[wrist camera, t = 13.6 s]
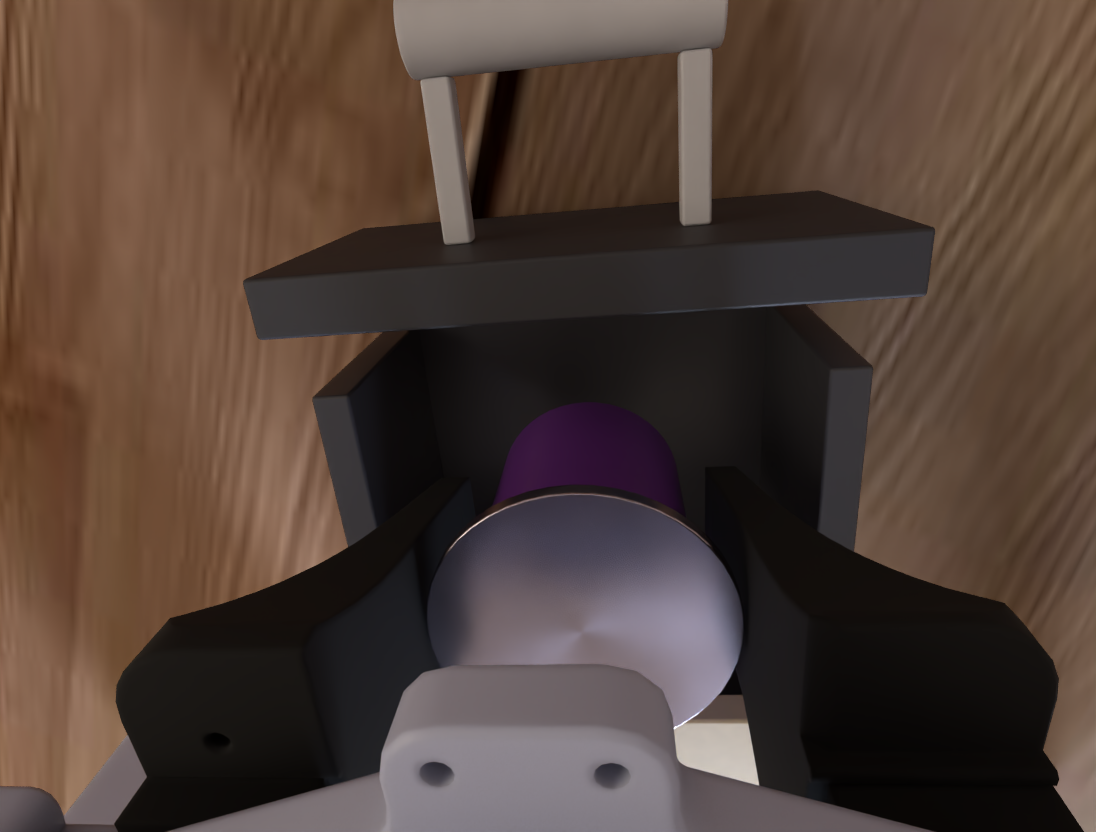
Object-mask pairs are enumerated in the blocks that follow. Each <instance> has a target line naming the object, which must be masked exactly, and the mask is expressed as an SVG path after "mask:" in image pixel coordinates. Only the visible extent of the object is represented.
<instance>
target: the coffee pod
mask: <svg viewBox="0 0 1096 832" xmlns="http://www.w3.org/2000/svg"><path fill="white" fill-rule="evenodd" d="M426 623H427V631H428V636H429V639H430V643H431V647H432V650H433V652H434V654H435V657H436V659H437V661H438V663H439V665H440V667H441V668H445V667H449V666H453V665H542V664H604V665H609V666H615V667H620V668H625V669H630V670H635V671H638V672H639V673H640V674H642V675H643V676H644V677H646V678H647V679H649V680H650V681H651V682H653V683H654V684H655V685H657V686H658V687H660V688H661V689H662V690H663V692H664V695H665V697H666V700H667V702H668V705H669V708H670V710H671V713H672V716H673V725H674V728H676V727H678V726H680V725H682V724H684V723H685V722H687V721H688V720H690V719H691V718H693V717H695V716H696V715H697V714H699V713H700V712H701V711H702V710H703V709H705V708H706V707H707V706H708V705H709V704H710V703H711V702H712V701H713V700H714V699H715V698H716V697H717V696H718V695H719V694H720V692H721V691H722V690H723V688H724V687H725V686H726V684H727V683H728V681H729V680H730V678H731V676H732V674H733V672H734V670H735V668H736V666H737V664H738V662H739V658H740V655H741V651H742V648H743V643H744V635H745V615H744V608H743V603H742V599H741V594H740V591H739V587H738V584H737V582H736V579H735V577H734V574H733V572H732V569H731V567H730V566H729V564H728V562H727V561H726V559H725V557H724V556H723V554H722V552H721V551H720V550H719V549H718V547H717V546H716V545H715V544H714V543H713V541H712V540H711V539H710V538H709V537H708V536H707V535H706V534H705V533H704V532H703V531H702V530H701V529H700V528H698V527H697V526H696V525H695V524H694V523H693V522H691V521H690V520H688V519H687V518H686V513H685V508H684V503H683V498H682V493H681V487H680V482H679V477H678V472H677V467H676V463H675V459H674V457H673V454H672V452H671V449H670V448H669V446H668V444H667V443H666V441H665V439H664V438H663V437H662V436H661V434H660V433H659V432H658V431H657V430H656V429H655V428H654V427H653V426H652V425H651V424H650V423H648V422H647V421H646V420H644V419H643V418H642V417H640V416H638V415H636V414H635V413H633V412H631V411H629V410H626V409H623V408H621V407H618V406H614V405H610V404H604V403H597V402H582V403H574V404H569V405H565V406H561V407H558V408H555V409H553V410H550V411H548V412H546V413H544V414H542V415H541V416H539V417H538V418H536V419H535V420H533V421H532V422H531V423H530V424H529V425H527V426H526V427H525V428H524V429H523V430H522V432H521V433H520V434H519V435H518V437H517V438H516V440H515V441H514V443H513V445H512V446H511V449H510V451H509V453H508V456H507V459H506V462H505V466H504V469H503V472H502V476H501V479H500V482H499V486H498V489H497V492H496V495H495V499H494V502H493V505H492V507H490V508H488V509H487V510H485V511H484V512H482V513H481V514H479V515H478V516H476V517H475V518H473V519H472V520H471V521H470V522H469V523H468V524H467V525H466V526H465V527H463V528H462V529H461V530H460V531H459V532H458V534H457V535H456V536H455V537H454V538H453V540H452V541H451V542H450V543H449V544H448V546H447V548H446V549H445V551H444V553H443V554H442V556H441V558H440V560H439V562H438V564H437V567H436V570H435V572H434V575H433V577H432V580H431V583H430V586H429V591H428V595H427V600H426Z"/></svg>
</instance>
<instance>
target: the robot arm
mask: <svg viewBox="0 0 1096 832" xmlns="http://www.w3.org/2000/svg"><path fill="white" fill-rule="evenodd" d="M475 517H476V515H475V508H474V502H473V495H472V489H471V482H470V477H451V478H441V479H440V480H438V481H437V482H435V483H434V484H433V485H431V486H430V487H429V488H428V489H426V490H425V491H424V492H423V493H421V494H420V495H419V496H418V497H416V498H415V499H414V500H413V501H411V502H410V503H409V504H408V505H406V506H405V507H404V508H403V509H401V510H400V511H399V512H397V513H396V514H395V515H394V516H392V517H391V518H390V519H388V520H387V521H386V522H384V523H383V524H381V525H380V526H379V527H377V528H376V529H374V530H373V531H372V532H370V533H369V534H367V535H366V536H365V537H363V538H362V539H360V540H359V541H357V542H356V543H354V544H353V545H351V546H349V547H348V548H346V549H345V550H343V551H341V552H339V553H338V554H336V555H334V556H332V557H331V558H329V559H327V560H325V561H324V562H322V563H320V564H318V565H316V566H314V567H312V568H310V569H308V570H305V571H303V572H301V573H299V574H297V575H295V576H293V577H291V578H288V579H286V580H284V581H282V582H280V583H278V584H275V585H273V586H270V587H268V588H265V589H263V590H260V591H257V592H255V593H252V594H249V595H246V596H244V597H241V598H238V599H235V600H232V601H229V602H226V603H223V604H220V605H216V606H213V607H209V608H205V609H202V610H198V611H195V612H191V613H188V614H184V615H181V616H177V617H173V618H170V619H169V620H168V621H167V622H166V623H165V625H164V626H163V627H162V628H161V629H160V630H159V631H158V632H157V634H156V635H155V636H154V637H153V638H152V639H151V640H150V642H149V643H148V644H147V645H146V646H145V647H144V648H143V650H142V651H141V652H140V653H139V654H138V655H137V656H136V657H135V659H134V660H133V661H132V662H131V663H130V664H129V665H128V667H127V668H126V669H125V670H124V671H123V673H122V675H121V677H120V679H119V681H118V684H117V688H116V704H117V708H118V711H119V714H120V718H121V721H122V723H123V726H124V728H125V730H126V732H127V734H128V735H127V736H126V737H125V739H124V740H123V741H122V742H121V744H120V745H119V746H118V747H117V749H116V750H115V751H114V753H113V754H112V755H111V756H110V758H109V759H108V760H107V761H106V763H105V764H104V765H103V767H102V768H101V769H100V770H99V772H98V773H97V774H96V775H95V777H94V778H93V779H92V781H91V782H90V783H89V784H88V786H87V787H86V788H85V790H84V791H83V792H82V793H81V795H80V796H79V797H78V798H77V800H76V801H75V802H74V804H73V805H72V806H71V807H70V809H69V810H68V811H67V812H66V814H65V815H64V816H63V813H62V810H61V808H60V806H59V804H58V802H57V801H56V800H55V798H54V797H53V796H52V795H51V794H49V793H48V792H46V791H44V790H42V789H39V788H34V787H15V786H0V832H1084V831H1083V830H1082V828H1081V827H1080V825H1079V824H1078V822H1077V821H1076V819H1075V818H1074V816H1073V815H1072V813H1071V812H1070V810H1069V809H1068V807H1067V806H1066V804H1065V803H1064V801H1063V800H1062V798H1061V797H1060V795H1059V794H1058V792H1057V791H1056V790H1055V788H1054V787H1053V786H1057V784H1058V781H1059V776H1058V772H1057V770H1056V769H1055V767H1054V766H1053V764H1052V763H1051V761H1050V760H1049V758H1048V757H1047V756H1046V754H1045V753H1044V751H1043V748H1044V744H1045V741H1046V737H1047V733H1048V730H1049V726H1050V722H1051V719H1052V715H1053V711H1054V708H1055V704H1056V701H1057V694H1058V682H1059V678H1058V675H1057V672H1056V669H1055V665H1054V662H1053V660H1052V659H1051V658H1050V656H1049V655H1048V654H1047V653H1046V651H1045V650H1044V649H1043V648H1042V646H1041V645H1040V644H1039V643H1038V641H1037V640H1036V639H1035V637H1034V636H1033V635H1032V634H1031V632H1030V631H1029V630H1028V628H1027V627H1026V626H1025V625H1024V624H1023V623H1022V621H1021V620H1020V619H1019V618H1018V617H1017V616H1016V615H1015V614H1014V613H1013V612H1012V610H1011V609H1010V608H1009V607H1008V606H1007V605H1006V604H1005V603H1003V602H999V601H995V600H991V599H987V598H983V597H979V596H975V595H971V594H967V593H963V592H959V591H955V590H951V589H948V588H944V587H941V586H938V585H935V584H932V583H929V582H926V581H923V580H920V579H917V578H914V577H911V576H909V575H906V574H904V573H901V572H898V571H896V570H893V569H891V568H888V567H886V566H884V565H882V564H879V563H877V562H875V561H872V560H870V559H868V558H866V557H864V556H862V555H860V554H857V553H855V552H853V551H851V550H850V549H848V548H846V547H844V546H842V545H841V544H839V543H837V542H835V541H833V540H832V539H830V538H828V537H826V536H825V535H823V534H821V533H820V532H818V531H817V530H815V529H813V528H812V527H811V526H809V525H808V524H806V523H805V522H803V521H802V520H800V519H799V518H797V517H796V516H795V515H793V514H792V513H791V512H789V511H788V510H787V509H785V508H784V507H783V506H781V505H780V504H779V503H778V502H776V501H775V500H774V499H773V498H771V497H770V496H769V495H768V494H767V493H765V492H764V491H763V490H762V489H761V488H760V487H759V486H757V485H756V484H755V483H754V482H753V481H752V480H751V479H749V478H748V477H747V476H746V475H745V474H744V473H743V472H742V471H740V470H739V469H738V468H737V467H736V466H722V467H705V534H706V535H707V536H708V537H709V538H710V539H711V540H712V541H713V543H714V544H715V545H716V546H717V547H718V549H719V550H720V551H721V552H722V554H723V556H724V557H725V559H726V561H727V562H728V564H729V566H730V567H731V569H732V572H733V574H734V577H735V579H736V582H737V584H738V587H739V591H740V594H741V599H742V603H743V608H744V615H745V635H744V643H743V648H742V651H741V655H740V658H739V662H738V664H737V666H736V668H735V669H736V672H737V675H738V679H739V683H740V687H741V691H742V695H743V699H744V705H745V710H746V715H747V720H748V726H749V731H750V736H751V742H752V747H753V753H754V759H755V764H756V770H757V775H758V781H759V785H755V784H751V783H748V782H744V781H740V780H736V779H732V778H729V777H725V776H721V775H717V774H713V773H710V772H706V771H702V770H698V769H694V768H691V767H687V766H685V765H683V764H682V763H680V762H679V760H678V758H677V753H676V743H675V734H674V725H673V716H672V713H671V710H670V708H669V705H668V702H667V700H666V697H665V695H664V692H663V690H662V689H661V688H660V687H658V686H657V685H655V684H654V683H653V682H651V681H650V680H649V679H647V678H646V677H644V676H643V675H642V674H640V673H639V672H638V671H635V670H630V669H625V668H620V667H615V666H609V665H604V664H542V665H453V666H449V667H445V668H441V667H440V665H439V663H438V661H437V659H436V657H435V654H434V652H433V650H432V647H431V643H430V639H429V636H428V631H427V623H426V600H427V595H428V591H429V586H430V583H431V580H432V577H433V575H434V572H435V570H436V567H437V564H438V562H439V560H440V558H441V556H442V554H443V553H444V551H445V549H446V548H447V546H448V544H449V543H450V542H451V541H452V540H453V538H454V537H455V536H456V535H457V534H458V532H459V531H460V530H461V529H462V528H463V527H465V526H466V525H467V524H468V523H469V522H470V521H471V520H472V519H473V518H475Z"/></svg>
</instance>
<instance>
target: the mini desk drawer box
mask: <svg viewBox="0 0 1096 832" xmlns="http://www.w3.org/2000/svg"><path fill="white" fill-rule="evenodd" d="M674 734H675V743H676V753H677V758H678V760H679V762H680V763H682V764H683V765H685V766H687V767H691V768H694V769H698V770H702V771H706V772H710V773H713V774H717V775H721V776H725V777H729V778H732V779H736V780H740V781H744V782H748V783H751V784H755V785H759V781H758V775H757V770H756V764H755V759H754V753H753V747H752V742H751V736H750V731H749V726H748V720H747V715H746V710H745V705H744V699H743V695H718V696H717V697H716V698H715V699H714V700H713V701H712V702H711V703H710V704H709V705H708V706H707V707H706V708H705V709H703V710H702V711H701V712H700V713H699V714H697V715H696V716H695V717H693V718H691V719H690V720H688V721H687V722H685V723H684V724H682V725H680V726H678V727H676V728H674Z"/></svg>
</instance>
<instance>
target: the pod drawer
mask: <svg viewBox="0 0 1096 832" xmlns="http://www.w3.org/2000/svg"><path fill="white" fill-rule="evenodd" d="M393 14H394V25H395V32H396V37H397V42H398V46H399V50H400V54H401V57H402V60H403V63H404V65H405V68H406V70H407V72H408V74H409V75H410V77H411V78H412V79H414V80H421V90H422V97H423V104H424V111H425V117H426V124H427V131H428V138H429V145H430V152H431V158H432V165H433V172H434V179H435V186H436V192H437V199H438V206H439V213H440V220H441V222H435V223H423V224H411V225H399V226H387V227H375V228H363V229H361V230H358V231H356V232H354V233H351V234H349V235H347V236H344V237H342V238H340V239H338V240H335V241H333V242H331V243H328V244H326V245H324V246H321V247H319V248H317V249H314V250H312V251H310V252H307V253H305V254H303V255H300V256H298V257H296V258H294V259H291V260H289V261H287V262H284V263H282V264H280V265H277V266H275V267H273V268H270V269H268V270H266V271H263V272H261V273H259V274H256V275H254V276H252V277H250V278H247V279H245V280H244V281H243V285H244V289H245V292H246V296H247V300H248V304H249V307H250V311H251V315H252V319H253V322H254V326H255V330H256V334H257V337H258V339H261V340H268V339H284V338H299V337H314V336H329V335H344V334H360V333H375V332H382V333H381V334H380V335H379V336H378V337H377V338H376V339H375V340H374V341H373V342H372V343H371V344H370V345H368V346H367V347H366V348H365V349H364V350H363V351H362V352H361V353H360V354H359V355H358V356H357V357H356V358H354V359H353V360H352V361H351V362H350V363H349V364H348V365H347V366H346V367H345V368H344V369H343V370H342V371H340V372H339V373H338V374H337V375H336V376H335V377H334V378H333V379H332V380H331V381H330V382H329V383H328V384H327V385H325V386H324V387H323V388H322V389H321V390H320V391H319V392H318V393H317V394H316V395H315V396H314V397H313V405H314V409H315V413H316V417H317V421H318V425H319V429H320V433H321V437H322V441H323V446H324V450H325V454H326V458H327V462H328V466H329V470H330V474H331V478H332V483H333V487H334V491H335V495H336V499H337V503H338V507H339V511H340V515H341V520H342V524H343V528H344V532H345V536H346V540H347V544H348V547H349V546H351V545H353V544H354V543H356V542H357V541H359V540H360V539H362V538H363V537H365V536H366V535H367V534H369V533H370V532H372V531H373V530H374V529H376V528H377V527H379V526H380V525H381V524H383V523H384V522H386V521H387V520H388V519H390V518H391V517H392V516H394V515H395V514H396V513H397V512H399V511H400V510H401V509H403V508H404V507H405V506H406V505H408V504H409V503H410V502H411V501H413V500H414V499H415V498H416V497H418V496H419V495H420V494H421V493H423V492H424V491H425V490H426V489H428V488H429V487H430V486H431V485H433V484H434V483H435V482H437V481H438V480H440V479H441V478H451V477H470V482H471V489H472V495H473V502H474V508H475V515H476V516H478V515H479V514H481V513H482V512H484V511H485V510H487V509H488V508H490V507H492V505H493V502H494V499H495V495H496V492H497V489H498V486H499V482H500V479H501V476H502V472H503V469H504V466H505V462H506V459H507V456H508V453H509V451H510V449H511V446H512V445H513V443H514V441H515V440H516V438H517V437H518V435H519V434H520V433H521V432H522V430H523V429H524V428H525V427H526V426H527V425H529V424H530V423H531V422H532V421H533V420H535V419H536V418H538V417H539V416H541V415H542V414H544V413H546V412H548V411H550V410H553V409H555V408H558V407H561V406H565V405H569V404H574V403H582V402H597V403H604V404H610V405H614V406H618V407H621V408H623V409H626V410H629V411H631V412H633V413H635V414H636V415H638V416H640V417H642V418H643V419H644V420H646V421H647V422H648V423H650V424H651V425H652V426H653V427H654V428H655V429H656V430H657V431H658V432H659V433H660V434H661V436H662V437H663V438H664V439H665V441H666V443H667V444H668V446H669V448H670V449H671V452H672V454H673V457H674V459H675V463H676V467H677V472H678V477H679V482H680V487H681V493H682V498H683V503H684V508H685V513H686V518H687V519H688V520H690V521H691V522H693V523H694V524H695V525H696V526H697V527H698V528H700V529H701V530H702V531H703V532H704V533H705V467H722V466H736V467H737V468H738V469H739V470H740V471H742V472H743V473H744V474H745V475H746V476H747V477H748V478H749V479H751V480H752V481H753V482H754V483H755V484H756V485H757V486H759V487H760V488H761V489H762V490H763V491H764V492H765V493H767V494H768V495H769V496H770V497H771V498H773V499H774V500H775V501H776V502H778V503H779V504H780V505H781V506H783V507H784V508H785V509H787V510H788V511H789V512H791V513H792V514H793V515H795V516H796V517H797V518H799V519H800V520H802V521H803V522H805V523H806V524H808V525H809V526H811V527H812V528H813V529H815V530H817V531H818V532H820V533H821V534H823V535H825V536H826V537H828V538H830V539H832V540H833V541H835V542H837V543H839V544H841V545H842V546H844V547H846V548H848V549H850V550H851V551H853V552H854V546H855V536H856V527H857V517H858V508H859V498H860V489H861V479H862V470H863V460H864V451H865V441H866V432H867V422H868V413H869V403H870V393H871V384H872V374H873V367H872V365H870V364H869V363H868V362H867V361H866V360H865V359H864V358H863V357H862V356H861V355H860V354H858V353H857V352H856V351H855V350H854V349H853V348H852V347H851V346H850V345H849V344H848V343H847V342H845V341H844V340H843V339H842V338H841V337H840V336H839V335H838V334H837V333H836V332H835V331H833V330H832V329H831V328H830V327H829V326H828V325H827V324H826V323H825V322H824V321H823V320H821V319H820V318H819V317H818V316H817V315H816V314H815V313H814V312H813V311H812V310H811V309H810V308H808V307H807V306H806V305H805V304H816V303H831V302H846V301H861V300H876V299H892V298H907V297H922V296H924V295H926V293H927V288H928V281H929V273H930V266H931V258H932V250H933V243H934V235H935V229H934V228H933V227H931V226H927V225H924V224H921V223H918V222H915V221H912V220H909V219H906V218H902V217H899V216H896V215H893V214H890V213H887V212H884V211H881V210H877V209H874V208H871V207H868V206H865V205H862V204H859V203H856V202H853V201H849V200H846V199H843V198H840V197H837V196H834V195H831V194H828V193H824V192H821V191H806V192H794V193H782V194H771V195H759V196H747V197H735V198H723V199H712V50H711V49H714V48H718V47H720V46H721V45H722V43H723V40H724V36H725V31H726V24H727V14H728V0H394V2H393ZM676 52H681V53H680V54H679V55H678V133H679V202H675V203H663V204H651V205H639V206H627V207H615V208H603V209H591V210H579V211H567V212H555V213H543V214H531V215H519V216H507V217H495V218H483V219H473V216H472V208H471V200H470V192H469V185H468V177H467V169H466V161H465V153H464V146H463V138H462V130H461V122H460V115H459V107H458V99H457V91H456V83H455V80H454V78H451V77H453V76H462V75H471V74H481V73H490V72H499V71H509V70H518V69H527V68H537V67H546V66H555V65H565V64H574V63H583V62H593V61H602V60H611V59H620V58H630V57H639V56H648V55H658V54H667V53H676ZM719 695H742V691H741V687H740V683H739V679H738V675H737V672H736V669H735V670H734V672H733V674H732V676H731V678H730V680H729V681H728V683H727V684H726V686H725V687H724V688H723V690H722V691H721V692H720V694H719Z"/></svg>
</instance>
